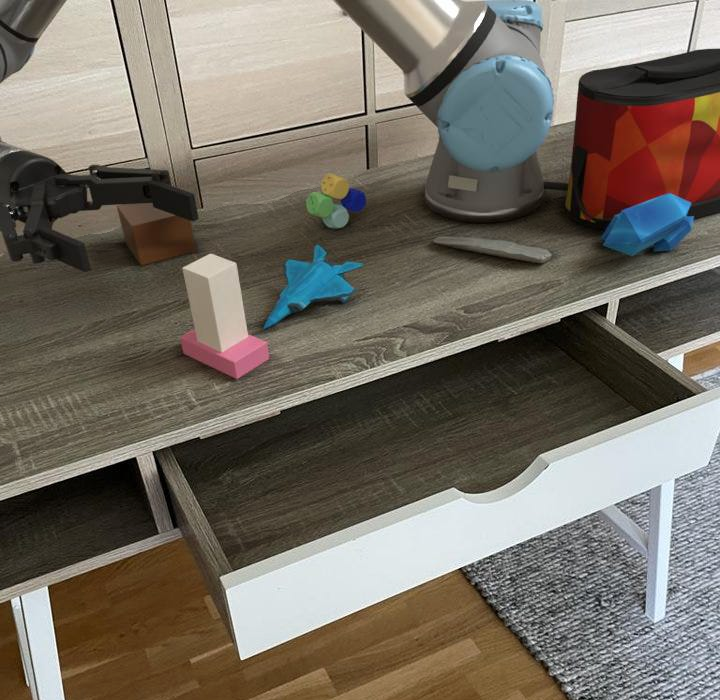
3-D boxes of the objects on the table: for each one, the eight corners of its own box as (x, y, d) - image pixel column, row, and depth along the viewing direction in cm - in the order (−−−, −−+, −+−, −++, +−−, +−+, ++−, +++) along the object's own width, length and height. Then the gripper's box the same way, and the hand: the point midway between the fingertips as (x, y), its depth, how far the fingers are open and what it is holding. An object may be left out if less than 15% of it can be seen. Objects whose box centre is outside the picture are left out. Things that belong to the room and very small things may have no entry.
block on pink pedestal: (269, 359, 86) (256, 267, 80) (237, 379, 84) (220, 286, 77) (215, 334, 90) (199, 245, 84) (183, 353, 88) (163, 263, 81)
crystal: (718, 244, 96) (624, 289, 95) (673, 229, 103) (585, 271, 103) (709, 179, 92) (610, 226, 91) (662, 169, 99) (571, 212, 99)
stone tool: (558, 245, 99) (544, 256, 96) (557, 257, 100) (542, 268, 96) (446, 228, 105) (428, 238, 102) (445, 240, 106) (428, 250, 102)
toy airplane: (291, 277, 99) (286, 243, 96) (374, 279, 97) (371, 245, 95) (263, 330, 91) (256, 295, 88) (353, 334, 89) (350, 298, 86)
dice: (356, 211, 112) (353, 162, 108) (369, 217, 110) (366, 167, 106) (306, 230, 109) (301, 179, 104) (318, 236, 107) (313, 186, 103)
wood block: (179, 230, 111) (171, 192, 107) (196, 251, 106) (188, 212, 102) (126, 243, 108) (116, 205, 105) (141, 265, 104) (131, 226, 100)
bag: (719, 159, 118) (748, 27, 108) (796, 193, 109) (836, 52, 98) (532, 204, 110) (543, 66, 99) (597, 246, 100) (617, 98, 90)
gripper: (119, 181, 105) (239, 223, 94) (-70, 258, 91) (44, 318, 80) (104, 118, 100) (228, 154, 89) (-98, 189, 87) (19, 242, 76)
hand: (141, 231), depth 85 cm, fingers open, 13 cm apart
